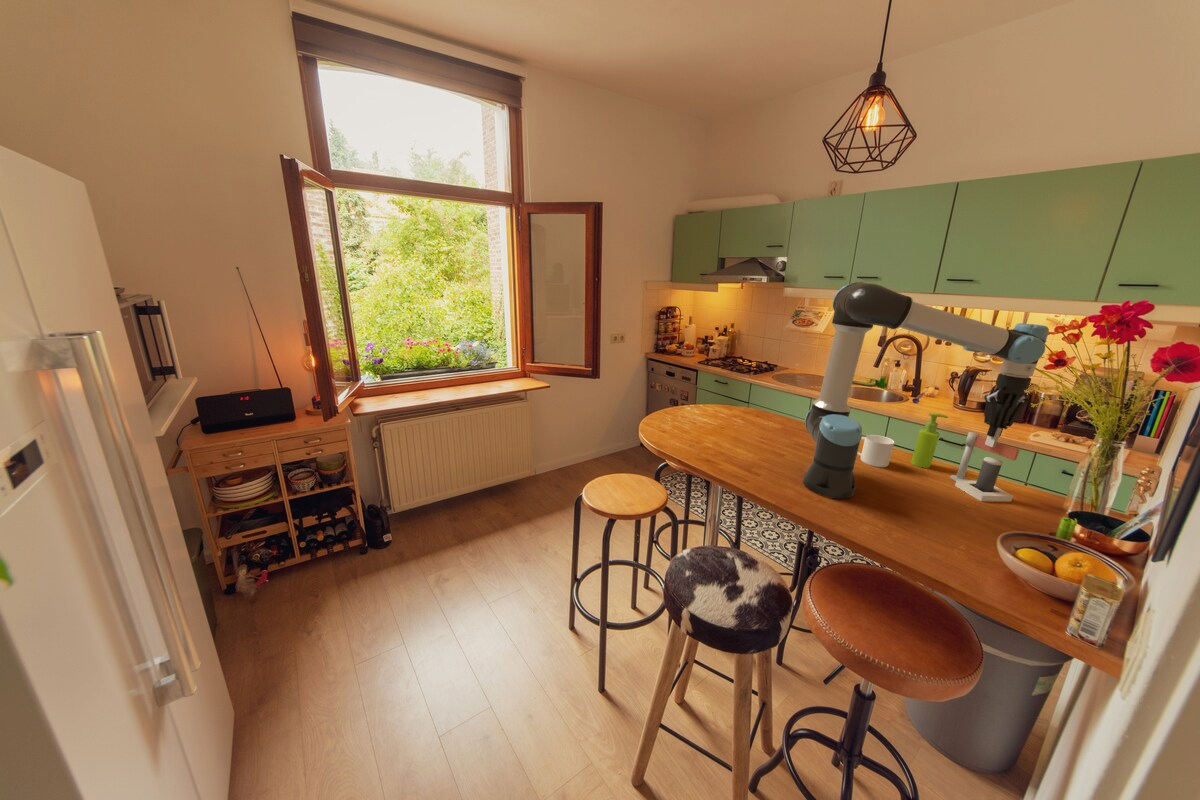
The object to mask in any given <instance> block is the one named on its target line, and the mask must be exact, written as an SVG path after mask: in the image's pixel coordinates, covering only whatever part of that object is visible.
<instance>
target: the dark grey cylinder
mask: <svg viewBox="0 0 1200 800" xmlns="http://www.w3.org/2000/svg"><path fill="white" fill-rule="evenodd" d="M1002 466H1003V461H1002V460H1000V459H998V458H995V457H989V456H985V457H984V458H983V460H982V463H981V467H980V469H979V473H978V475H977V479H976V481H977V482H976V485H975V488H977V489H979V490H980V491H982V492H992V491H993V488H994V486H996V483H997V479H998V477H999V474H1000V470H1001V468H1002Z"/></svg>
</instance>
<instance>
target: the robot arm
mask: <svg viewBox="0 0 1200 800" xmlns="http://www.w3.org/2000/svg"><path fill="white" fill-rule="evenodd" d="M832 300H833V301H832V309H833V311H834V313H833V317H832V320H831V325H832V327H834V329H835V331H834V334H833V337H832V341H831V342H832V344H831V348H830V351H829V356H828V359H827V364H826V367H825V372H824V376H823V380H822V384H821V388H820V393H819V396H818V398H816V399H815V400H813V402H812V405H811V409H809V410H808V411H807V413H806V415H805V419H804V425H805V429H806V431H807V433H808V434H809V435H810V436H811V438H812V439H813V441H814V442H815V444H816V445H815V449H814V455H813V458H812V459H813V460H812V463H811V464H810V465H809V467H808V469H807V471H806V472H805V473H804V476H803V480H802V483H803V485H804V486H805V487H806V489H808V490H809V491H811V492H813V493H815V494H817V495H820V496H823V497H826V498H830V499H840V500H842V499H843V500H844V499H849V498H852V497H853V496H855V493H856V488H857V487H856V480H855V475H854V474H855V473H854V469H855V465H856V459H857V457H858V454H857V452H859V447H860V443H861V441H862V439H861V438H862V437H863V434H862V432H863V428H862V424H860V422H859V421H858V420H856V419H854V418H851V417H850V414H851V408H850V406H849V404H848V400H849V396H850V393H851V389H852V386H853V382H854V378H855V374H856V371H857V367H858V362H859V359H860V355H861V351H862V348H863V344H864V342H865V341H864V340H865V336H866V333H868V332H869V331H871V330H873V328H874V326H878V327H883V328H887V329H891V330H897V329H899V328H901V329H903V330H906V331H907V330H908V331H910V332H913V333H917V334H921V335H924V336H928V337H930V338H934V339H937V340H941V341H943V342H948V343H951V344H954V345H958V346H961V347H962V348H963V350H965V351H966V352H973V353H981V354H982V353H983V354H986V355H989V356H993V357H997V358H1000V359H1002V363H1001V365H1000V368H999V372H1000V373H998V375H997V377H996V380H995V385H996V388H995V389H994V390H993V393H992V394H990V395H988V394H985V395H984V397H983V398H984V400H985V405H984V406H985V409H984V424H986V425H988V426H989V428H988V430H987V433H986V435H987V437H986V438H987V439H986V442H985V445H988V446H990V447H993V448H995V446H996V444H997V442H998V441H999V438H1000V437H1001V435H1002V433H1003V430H1008V428H1009V427H1012V425H1013V424H1014V422H1015V421H1016V419H1017V418H1018V416H1019V415H1020V413H1021V412H1022V410H1023V408H1024V407H1025V406H1026V405H1027V404H1028V403H1029V402H1030V398H1027V397H1025V391H1028V389H1029V387H1030V386H1031V385H1030V384H1031V382H1032V379H1031V377H1033V375H1034V373H1035V370H1036V367H1037V364H1038V361H1039V360H1040V359H1041V357H1043V355H1044V353H1045V351H1046V345H1045V344H1046V343H1047V339H1048V335H1049V332H1050V331H1049V327H1048V326H1046V325H1042V324H1033V323H1016V324H1015V326H1014V327H1013V329H1011V328H1010V329H1007V328H1004V327H1001V326H996V325H994V324H990V323H986V322H983V321H980V320H977V319H973V318H970V317H965V316H962V315H960V314H955V313H952V312H950V311H946V310H943V309H939V308H935V307H932V306H929V305H925V304H921V303H919V302H915V301H914V299H913V297H911V296H908V295H905V294H902V293H901V292H897V291H894V290H892V289H889V288H887V287H885V286H882V285H879V284H878V283H877V284H876V283H867V282H862V281H860V282H858V281H857V282H852V283H848V284H846V285H844V286H843V287H841V288H839V289H838V291H837V292H836V293H835V295H834V297H833V299H832Z"/></svg>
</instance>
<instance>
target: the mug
mask: <svg viewBox="0 0 1200 800" xmlns="http://www.w3.org/2000/svg"><path fill="white" fill-rule="evenodd" d="M861 440H864V441H863V447H862V449H861V450H862V451H861V452H860V451H858V452H857V456H860V461H861V462H862V463H864V464H866V465H869V466H872V467H876V468H887V467H888V466H889V465H890V461H891V457H892V452H893V450H894V445H895V441H894V440H893V438H889V437H887V436H883V435H880V434H867V435H865V436H862V438H861Z"/></svg>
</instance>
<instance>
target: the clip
mask: <svg viewBox="0 0 1200 800" xmlns="http://www.w3.org/2000/svg"><path fill="white" fill-rule="evenodd" d="M986 439H987V437H983V436H980V433H976V432H973V431H969V432H968V433H967V437H966V440H965V442H964V444H965V446H966V445H969V446H974V448H976V449H981V450H984V451H986V452H988V453H991V454H995V455H998V456H1001V457H1003V458H1006V459H1009V460H1012V461H1017V458H1018V455H1019V452H1020V450H1021V449H1020V448H1017V447H1013V446H1011V445H1007V444H1006V443H1001V442H998V441H997V444H996V446H995V448H993V447H990V446H988V445H985V442H986Z"/></svg>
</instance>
